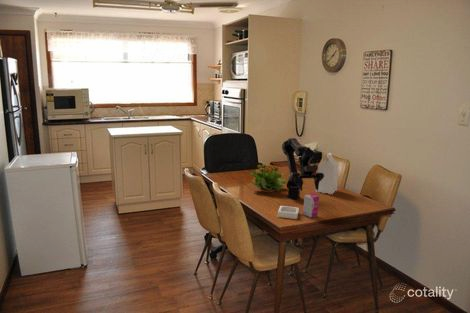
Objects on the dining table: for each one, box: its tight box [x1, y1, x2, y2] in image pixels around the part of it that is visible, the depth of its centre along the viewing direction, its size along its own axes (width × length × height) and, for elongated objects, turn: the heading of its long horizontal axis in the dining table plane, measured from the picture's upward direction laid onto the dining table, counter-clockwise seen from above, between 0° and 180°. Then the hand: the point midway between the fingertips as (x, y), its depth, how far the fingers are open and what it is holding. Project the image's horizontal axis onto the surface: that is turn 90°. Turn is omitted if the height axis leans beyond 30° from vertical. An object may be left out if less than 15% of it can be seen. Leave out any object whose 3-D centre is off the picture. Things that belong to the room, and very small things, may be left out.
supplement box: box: [302, 193, 320, 219], centre depth 201 cm, size 6×6×12 cm
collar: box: [277, 205, 300, 220], centre depth 202 cm, size 10×10×3 cm
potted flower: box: [249, 163, 287, 193], centre depth 245 cm, size 25×24×18 cm
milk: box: [314, 152, 339, 195], centre depth 248 cm, size 12×12×26 cm
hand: (309, 190), depth 206 cm, fingers open, 9 cm apart
